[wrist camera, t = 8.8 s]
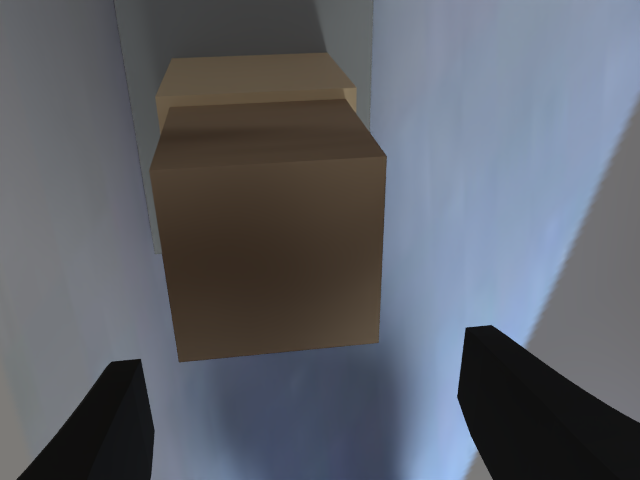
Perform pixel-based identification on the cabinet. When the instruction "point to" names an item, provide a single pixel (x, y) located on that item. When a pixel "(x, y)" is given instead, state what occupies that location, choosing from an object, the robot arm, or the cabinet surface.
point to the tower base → (233, 35)
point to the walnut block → (270, 227)
